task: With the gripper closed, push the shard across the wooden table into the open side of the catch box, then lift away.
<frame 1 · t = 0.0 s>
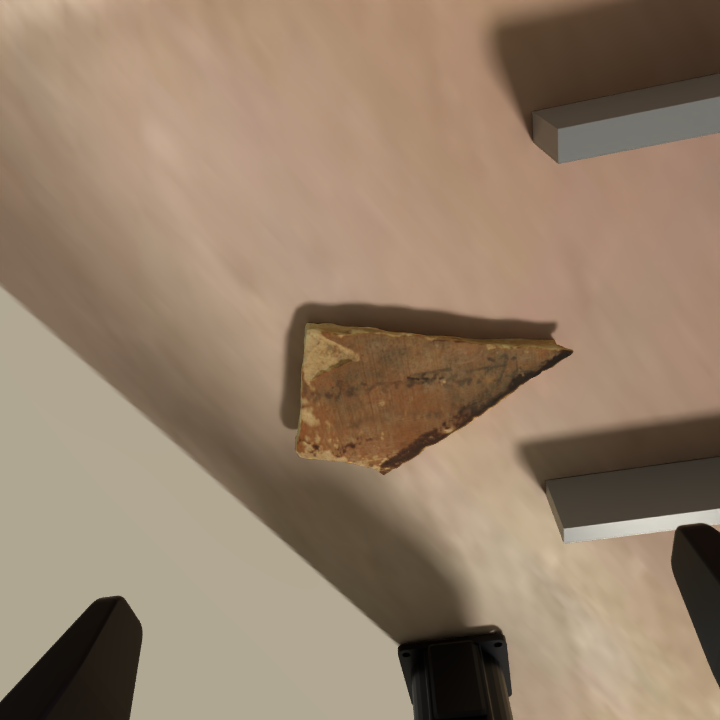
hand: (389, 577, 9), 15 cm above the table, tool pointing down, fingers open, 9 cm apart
shard: (396, 355, 25), on the table
catch box: (704, 314, 23), on the table
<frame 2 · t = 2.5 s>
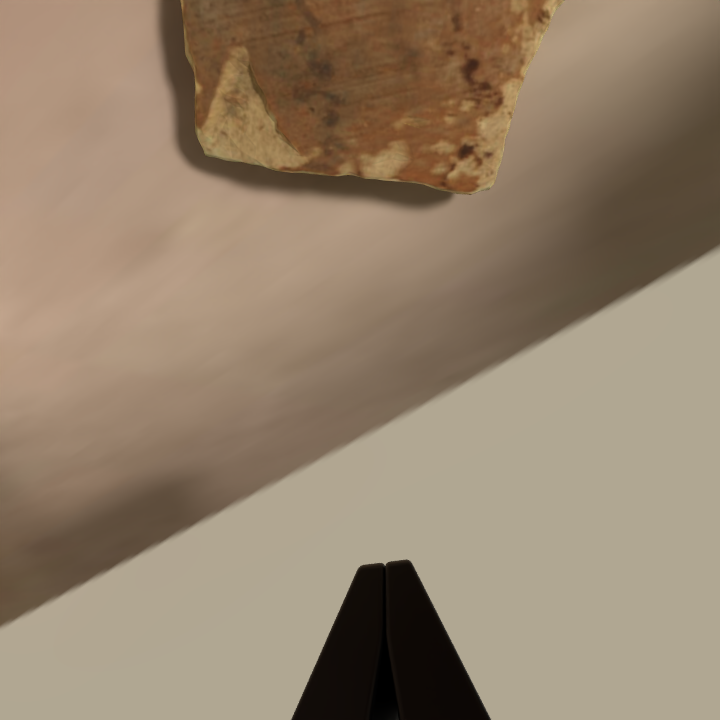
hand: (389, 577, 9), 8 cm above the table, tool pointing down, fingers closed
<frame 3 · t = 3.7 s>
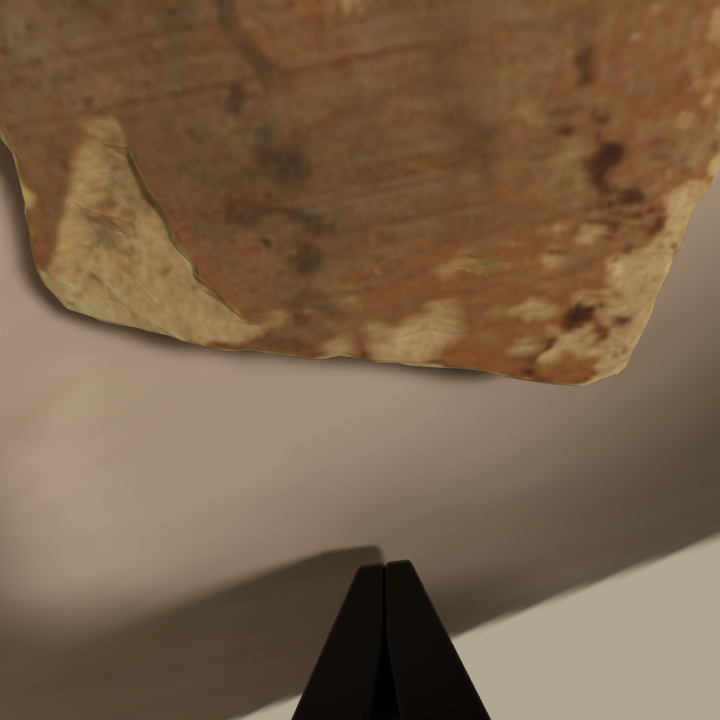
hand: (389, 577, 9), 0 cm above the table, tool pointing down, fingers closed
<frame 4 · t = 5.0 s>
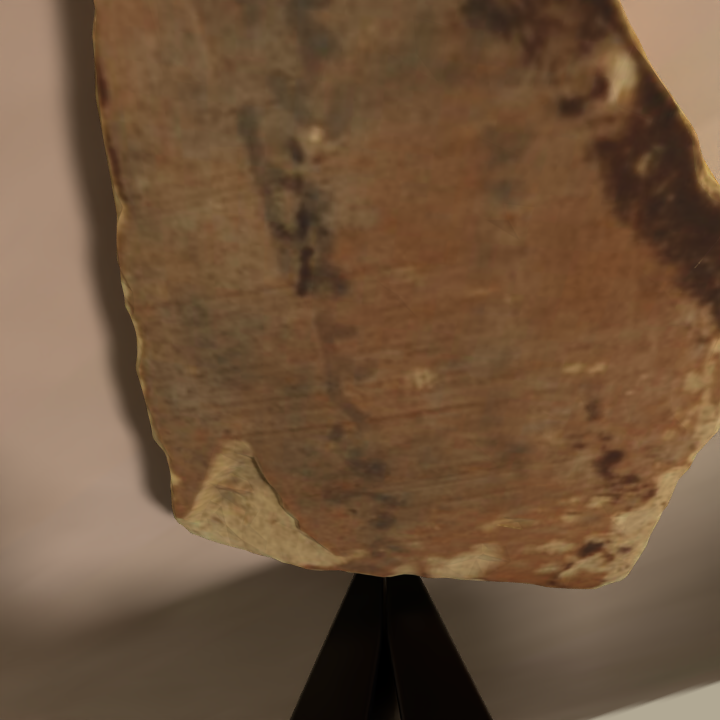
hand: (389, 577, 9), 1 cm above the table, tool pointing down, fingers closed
shard: (321, 256, 8), on the table
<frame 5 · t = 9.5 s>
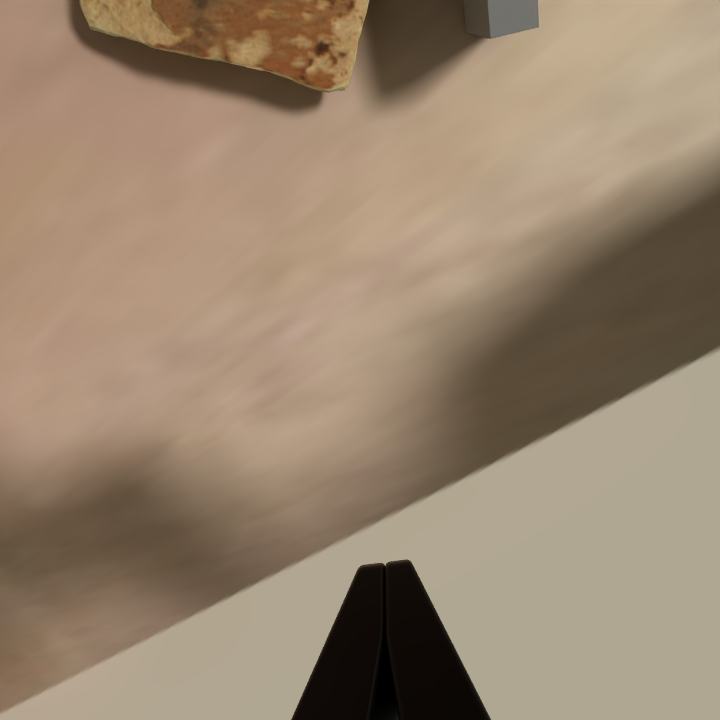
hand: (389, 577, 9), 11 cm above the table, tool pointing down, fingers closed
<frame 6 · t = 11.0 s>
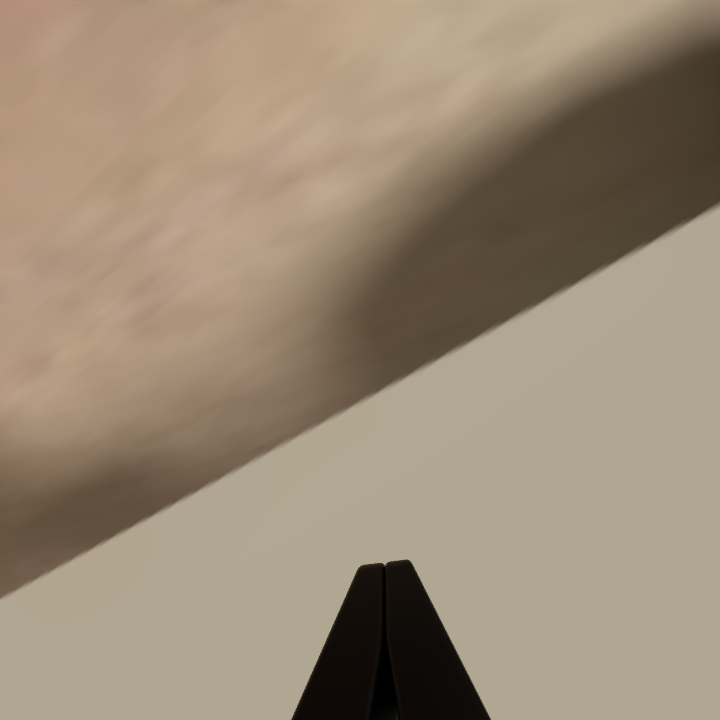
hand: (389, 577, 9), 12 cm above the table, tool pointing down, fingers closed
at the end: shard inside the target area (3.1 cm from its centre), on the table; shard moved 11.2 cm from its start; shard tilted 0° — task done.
